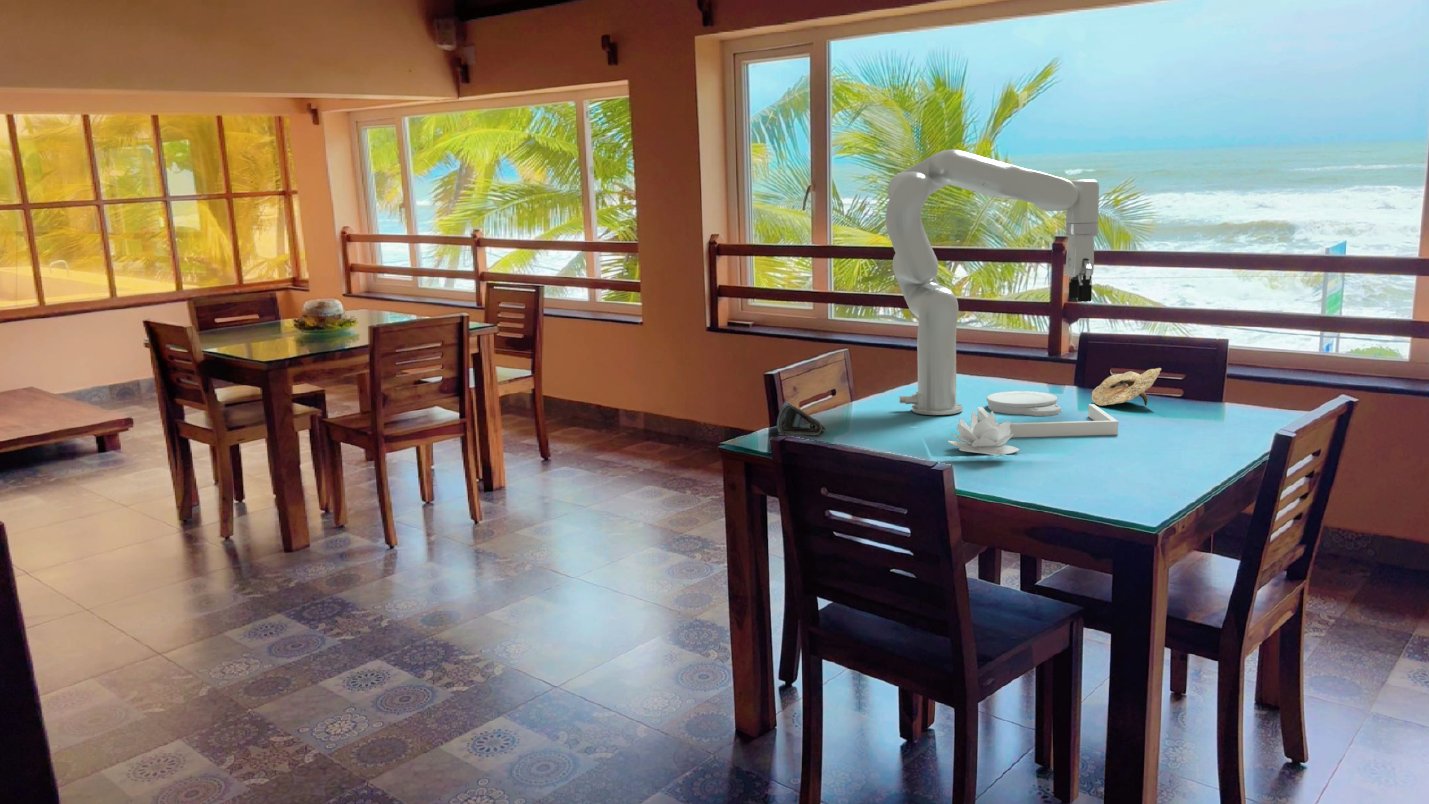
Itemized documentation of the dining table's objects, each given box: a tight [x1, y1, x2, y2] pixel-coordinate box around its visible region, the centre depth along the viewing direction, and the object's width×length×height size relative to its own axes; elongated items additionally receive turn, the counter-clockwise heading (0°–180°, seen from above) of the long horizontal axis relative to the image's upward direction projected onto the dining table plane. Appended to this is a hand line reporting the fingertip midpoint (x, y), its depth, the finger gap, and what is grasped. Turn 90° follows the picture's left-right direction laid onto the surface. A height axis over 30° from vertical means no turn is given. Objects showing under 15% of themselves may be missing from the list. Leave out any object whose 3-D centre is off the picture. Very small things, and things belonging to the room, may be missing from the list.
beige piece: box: [1091, 367, 1162, 406], centre depth 266 cm, size 18×14×8 cm
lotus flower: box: [947, 410, 1020, 456], centre depth 225 cm, size 14×15×9 cm
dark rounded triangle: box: [776, 401, 826, 436], centre depth 251 cm, size 10×7×12 cm
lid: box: [986, 390, 1062, 417], centre depth 267 cm, size 17×20×3 cm
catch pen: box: [977, 403, 1119, 438], centre depth 246 cm, size 27×20×3 cm
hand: (1079, 299), depth 266 cm, fingers open, 9 cm apart
